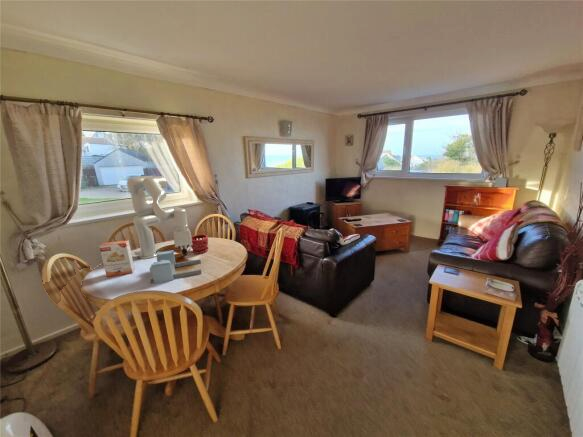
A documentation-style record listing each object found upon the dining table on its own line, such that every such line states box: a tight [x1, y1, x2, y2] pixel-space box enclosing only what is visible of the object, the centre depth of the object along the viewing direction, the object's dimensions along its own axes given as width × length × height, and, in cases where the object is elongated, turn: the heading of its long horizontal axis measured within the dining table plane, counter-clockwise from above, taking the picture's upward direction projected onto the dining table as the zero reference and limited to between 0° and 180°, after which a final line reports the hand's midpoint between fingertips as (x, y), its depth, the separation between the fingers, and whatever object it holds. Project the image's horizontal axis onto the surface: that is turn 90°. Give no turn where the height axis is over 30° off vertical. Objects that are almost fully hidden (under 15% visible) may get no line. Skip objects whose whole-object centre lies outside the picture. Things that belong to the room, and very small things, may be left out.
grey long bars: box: [149, 258, 202, 284], centre depth 150 cm, size 28×17×2 cm, turn 112°
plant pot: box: [190, 234, 209, 254], centre depth 180 cm, size 13×13×12 cm
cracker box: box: [98, 240, 135, 278], centre depth 147 cm, size 14×6×21 cm, turn 110°
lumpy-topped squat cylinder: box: [149, 260, 176, 278], centre depth 145 cm, size 10×13×9 cm
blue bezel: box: [150, 249, 176, 284], centre depth 146 cm, size 10×21×12 cm, turn 22°
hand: (184, 254), depth 153 cm, fingers closed
